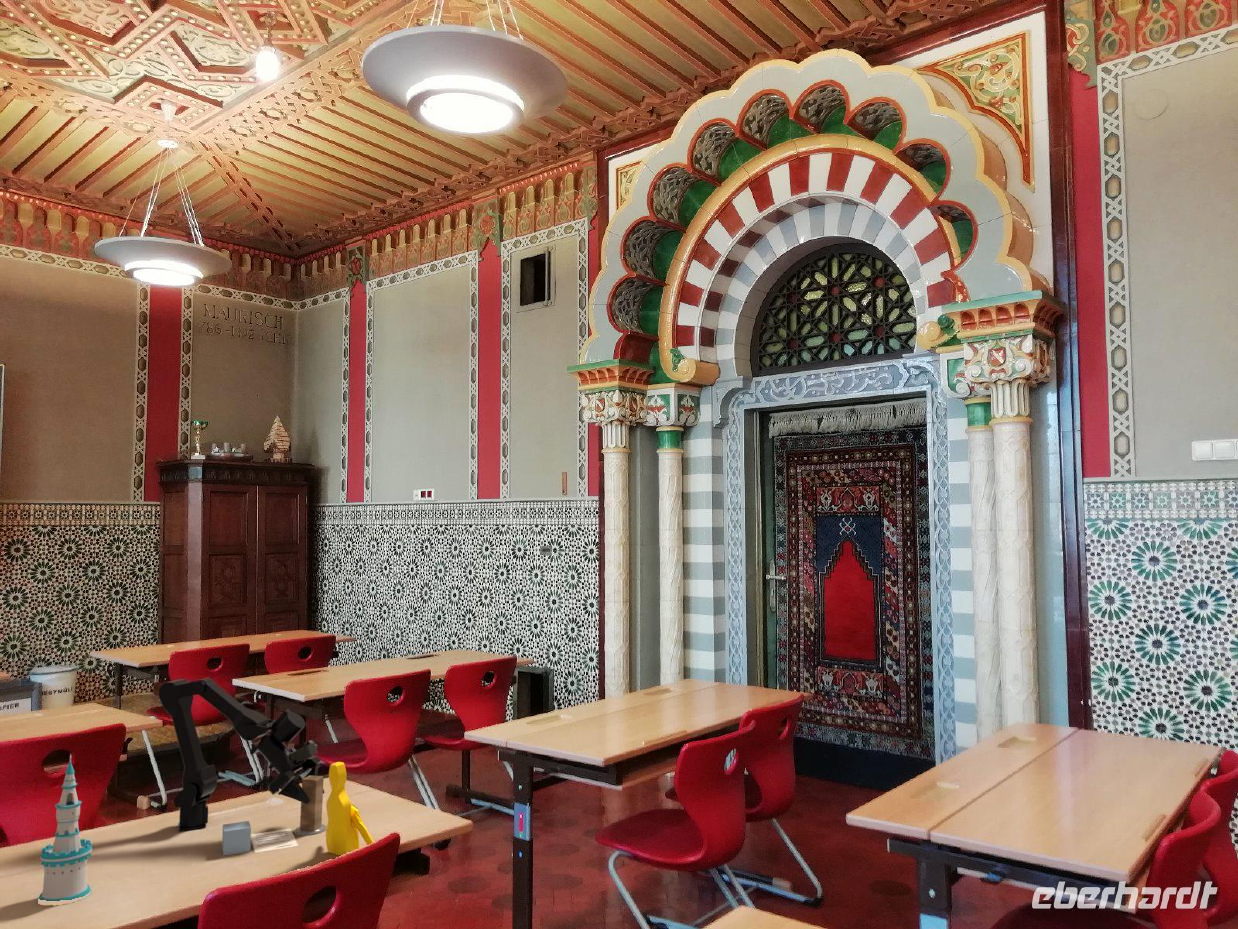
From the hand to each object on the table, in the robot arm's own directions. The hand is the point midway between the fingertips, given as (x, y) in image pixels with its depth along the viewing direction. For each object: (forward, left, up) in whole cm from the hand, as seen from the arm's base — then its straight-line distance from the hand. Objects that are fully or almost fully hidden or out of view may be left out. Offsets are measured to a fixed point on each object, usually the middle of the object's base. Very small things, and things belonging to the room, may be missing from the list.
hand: (316, 798), depth 233 cm
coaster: (-1, +1, -8) cm, 9 cm away
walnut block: (-1, +1, -8) cm, 8 cm away
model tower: (-55, -19, -9) cm, 58 cm away
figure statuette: (+3, -21, -9) cm, 23 cm away
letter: (-11, -3, -8) cm, 14 cm away
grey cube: (-20, -6, -9) cm, 22 cm away
